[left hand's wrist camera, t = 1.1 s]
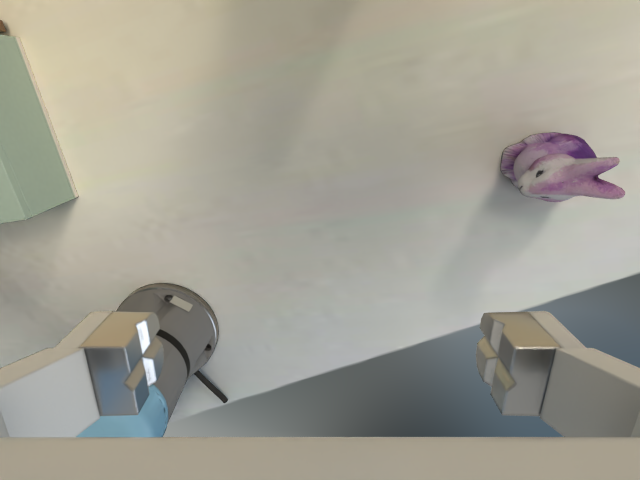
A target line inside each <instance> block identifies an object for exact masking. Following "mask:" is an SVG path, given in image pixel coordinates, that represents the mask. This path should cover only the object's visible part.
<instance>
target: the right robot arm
mask: <svg viewBox="0 0 640 480" xmlns="http://www.w3.org/2000/svg"><path fill="white" fill-rule="evenodd" d="M116 312H155V314H156V315H157V316H158V319H159V324H160V329H159V331H158V332H157V334H156V335H155V336H156V337H157V338H158V339H159V340H160V341H161V342H162V343H163V349H164V363H163V367H162V371H161V374H160V376H159V378H158V380H157V381H156V382H155V383H153V384H152V385H150V386H149V387H148V388H149V396H148V398H147V400H146V402H145V403H144V405H143V407H142V409H141V410H140V412H139V414H138V415H123V416H100V419H98V420H97V421H96V422H94V423H93V424H92V425H91V426H89V427H88V428H87V429H85V430H84V431H83V432H81V433H80V434H79V435H78V436H76V437H163V435H164V433H165V430H166V428H167V424H168V421H169V419H170V417H171V415H172V412H173V410H174V408H175V406H176V403H177V401H178V399H179V397H180V394H181V392H182V390H183V388H184V385H185V383H186V381H187V379H188V378H189V377H191V376H192V375H193V374H195V375H196V376H197V377H198V378H199V379H200V380H201V381H202V382H203V383H204V384H205V385H206V386H207V387H208V388H209V389H210V390H211V391H212V392H213V393H214V394H215V395H216V396H218V397H219V398H220V399H221V400H222V401H223V403H226V402H227V400H228V399H227V398H226V397H225V396H224V395H223V394H222V393H221V392H220V391H219V390H218V389H217V388H216V387H215V386H214V385H213V384H212V383H211V382H210V381H208V380H207V379H206V378H205V377H204V376H203V375H202V374H201V373H200V372H199V371H198V370H199V369H200V368H201V367H202V366H203V365H204V364H205V363H206V362H207V361H208V360H209V358H210V357H211V355H212V353H213V351H214V348H215V346H216V344H217V340H218V323H217V320H216V317H215V315H214V313H213V311H212V309H211V308H210V307H209V305H208V304H207V303H206V302H205V301H204V300H203V299H202V298H201V297H200V296H198V295H197V294H195V293H194V292H192V291H190V290H188V289H186V288H184V287H181V286H178V285H173V284H166V283H158V284H151V285H147V286H144V287H141V288H139V289H137V290H136V291H134V292H133V293H131V294H130V295H129V296H128V297H127V298H126V299H125V300H124V301H123V302H122V304H121V305H120V306H119V308H118V309H117V311H116Z"/></svg>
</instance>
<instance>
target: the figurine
mask: <svg viewBox="0 0 640 480" xmlns="http://www.w3.org/2000/svg"><path fill="white" fill-rule="evenodd" d="M502 157H503V158H502V162H501V163H502V164H501V172H502V173H503V175H505V176H506V177H508V178H510V179H511V182H512V184H513V185H514V186H516V187H518V188H519V190H520V192H521V194H523V195H524V196H527V197H533V198H538V199H542V200H545V201H550V202H561V201H564V200H568V199H570V198H572V197H574V196H580V195H583V196H589V197H596V198H606V199H619V198H622V197H623V196H624V195H625V191H624V190H623V189H622V188H620V187H618V186H616V185H614V184H612V183H609V182H607V181H604V180H601V179H599V178H598V175H599V174H601V173H603V172H605V171H607V170H610V169H611V168H613V167H615V166H617V165H618V163H619V162H620V161H619V158H617V157H603V158H597V157H596V155H595V153H594V152H593V150H592V149H591V148H590V147H589V145H588V144H587V143H586V142H585V141H584V140H583V139H582V138H580V137H578V136H575V135H569V134H561V133H555V132H554V133H541V134H536V135H532V136H529V137H527V138H526V139H524V140H522V141H521V142H520V143H517V144H514V145H511V146H509V147H507V148H506V149H505V150H504V152H503V156H502Z"/></svg>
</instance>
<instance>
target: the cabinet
mask: <svg viewBox="0 0 640 480" xmlns="http://www.w3.org/2000/svg"><path fill="white" fill-rule="evenodd" d="M77 197H79V196H78V194H77V191H76V188H75V186H74V183H73V180H72V177H71V175H70V172H69V169H68V167H67V164H66V161H65V159H64V156H63V153H62V151H61V148H60V145H59V142H58V140H57V137H56V134H55V132H54V129H53V126H52V124H51V121H50V118H49V115H48V113H47V110H46V107H45V105H44V102H43V99H42V97H41V94H40V91H39V89H38V86H37V83H36V80H35V78H34V75H33V72H32V70H31V67H30V64H29V62H28V59H27V56H26V53H25V51H24V48H23V45H22V43H21V40H20V37H12V36H7V35H1V34H0V224H2V223H8V222H15V221H21V220H27V219H29V218H31V217H33V216H36V215H38V214H40V213H42V212H45V211H47V210H49V209H51V208H54V207H56V206H58V205H60V204H63V203H65V202H67V201H70V200H72V199H74V198H77Z"/></svg>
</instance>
